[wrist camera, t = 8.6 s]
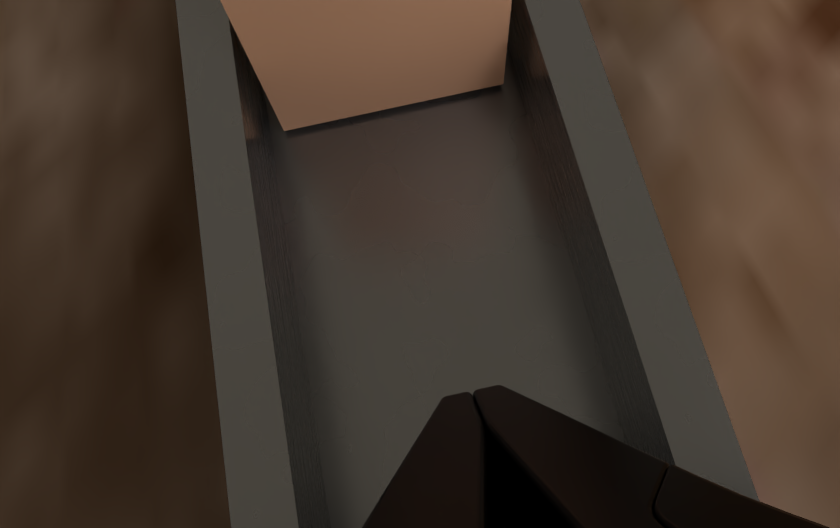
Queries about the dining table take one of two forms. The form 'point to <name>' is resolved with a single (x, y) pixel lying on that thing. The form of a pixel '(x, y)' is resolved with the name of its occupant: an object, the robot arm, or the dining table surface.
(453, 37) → the terracotta block
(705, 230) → the dining table surface
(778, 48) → the dining table surface
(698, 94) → the dining table surface
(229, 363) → the chute
